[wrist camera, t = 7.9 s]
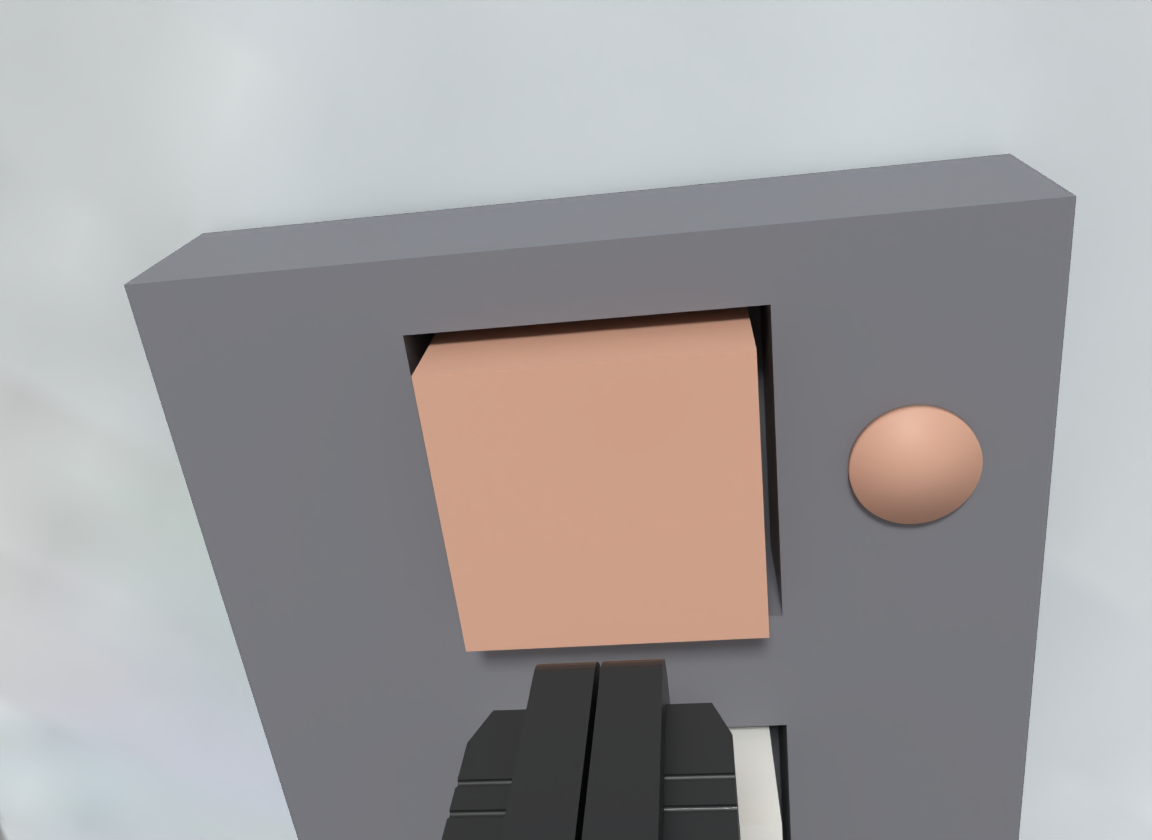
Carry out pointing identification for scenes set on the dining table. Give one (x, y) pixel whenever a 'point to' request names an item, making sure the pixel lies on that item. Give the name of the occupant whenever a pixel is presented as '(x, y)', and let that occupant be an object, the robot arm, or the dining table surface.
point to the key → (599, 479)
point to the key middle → (756, 784)
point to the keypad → (789, 475)
